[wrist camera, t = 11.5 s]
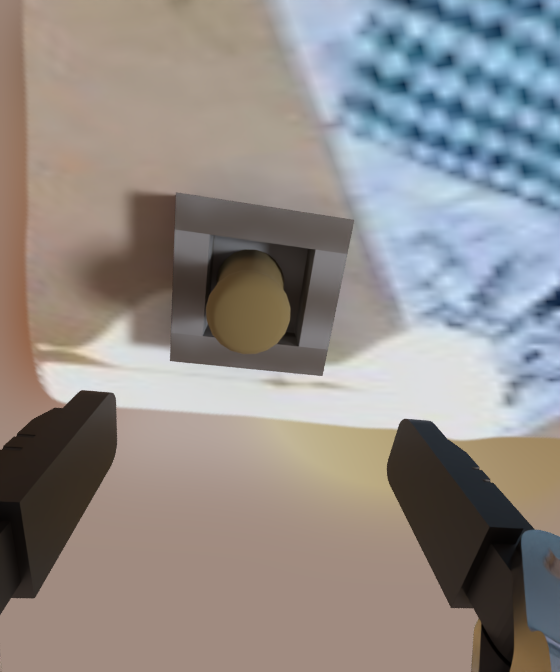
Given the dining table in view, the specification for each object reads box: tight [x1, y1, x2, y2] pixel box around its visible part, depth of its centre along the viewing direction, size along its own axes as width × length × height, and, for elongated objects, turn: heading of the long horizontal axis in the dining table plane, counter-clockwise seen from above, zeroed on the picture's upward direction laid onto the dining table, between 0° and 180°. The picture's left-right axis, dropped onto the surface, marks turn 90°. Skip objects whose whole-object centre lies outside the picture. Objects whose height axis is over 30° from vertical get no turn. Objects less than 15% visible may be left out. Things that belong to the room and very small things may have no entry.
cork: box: [206, 249, 290, 354], centre depth 24 cm, size 6×6×11 cm
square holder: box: [170, 193, 354, 376], centre depth 28 cm, size 13×13×4 cm
